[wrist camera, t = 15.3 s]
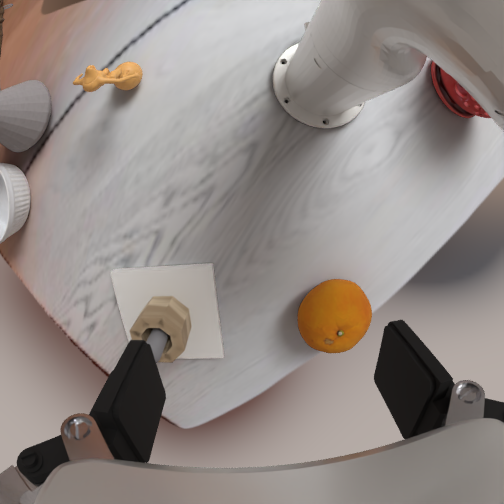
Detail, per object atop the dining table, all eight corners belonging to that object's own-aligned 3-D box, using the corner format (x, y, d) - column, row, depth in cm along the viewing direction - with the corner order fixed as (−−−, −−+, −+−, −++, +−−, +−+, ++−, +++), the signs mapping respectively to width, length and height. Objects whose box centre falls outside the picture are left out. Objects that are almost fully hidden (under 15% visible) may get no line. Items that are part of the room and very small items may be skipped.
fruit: (278, 303, 41) (285, 334, 34) (335, 257, 39) (355, 279, 32) (318, 345, 44) (331, 377, 36) (371, 304, 42) (392, 331, 34)
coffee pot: (53, 151, 33) (-16, 155, 19) (8, 152, 32) (-55, 159, 18) (82, 24, 27) (31, -12, 13) (33, 37, 26) (-20, 15, 12)
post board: (114, 268, 39) (80, 300, 29) (213, 262, 39) (203, 297, 29) (136, 352, 43) (116, 394, 33) (224, 352, 44) (220, 399, 34)
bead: (140, 296, 39) (125, 317, 33) (186, 295, 39) (178, 317, 33) (149, 337, 41) (138, 360, 35) (193, 337, 41) (187, 362, 35)
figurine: (164, 67, 31) (133, 33, 19) (154, 108, 33) (117, 88, 21) (110, 67, 30) (67, 40, 19) (100, 106, 32) (52, 91, 20)
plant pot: (479, 130, 33) (529, 130, 22) (424, 107, 33) (476, 97, 21) (475, 65, 30) (520, 54, 18) (420, 36, 29) (464, 12, 17)
